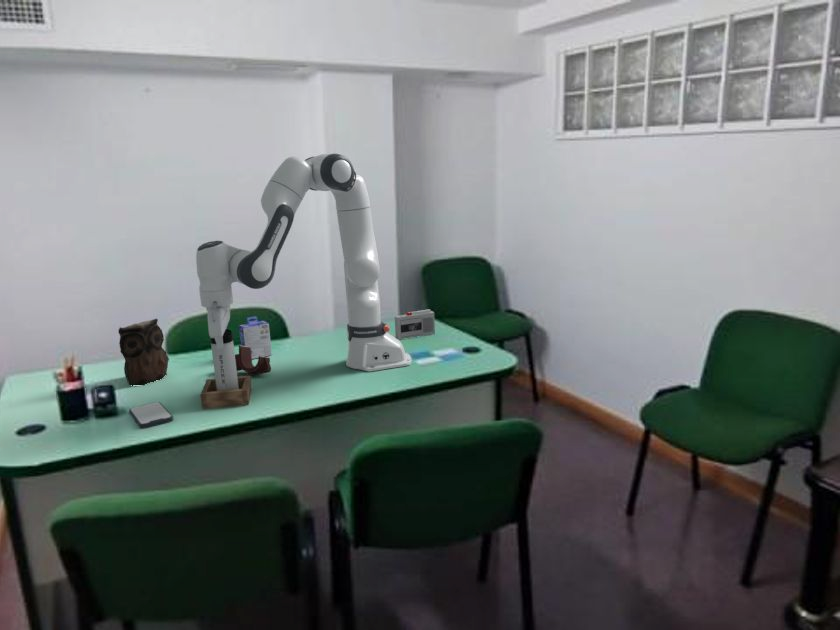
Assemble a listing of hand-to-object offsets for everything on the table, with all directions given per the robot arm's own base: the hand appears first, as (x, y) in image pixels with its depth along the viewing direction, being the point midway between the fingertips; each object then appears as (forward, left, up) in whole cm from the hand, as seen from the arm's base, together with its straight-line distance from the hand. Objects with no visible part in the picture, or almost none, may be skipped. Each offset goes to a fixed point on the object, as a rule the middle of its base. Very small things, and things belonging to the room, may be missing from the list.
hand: (222, 344), depth 186 cm
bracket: (-4, -22, -17) cm, 29 cm away
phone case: (+20, +8, -18) cm, 28 cm away
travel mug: (0, 0, -16) cm, 16 cm away
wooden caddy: (0, -2, -17) cm, 17 cm away
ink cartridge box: (-6, -41, -17) cm, 45 cm away
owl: (+29, -26, -17) cm, 43 cm away
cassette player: (-66, -50, -17) cm, 84 cm away
